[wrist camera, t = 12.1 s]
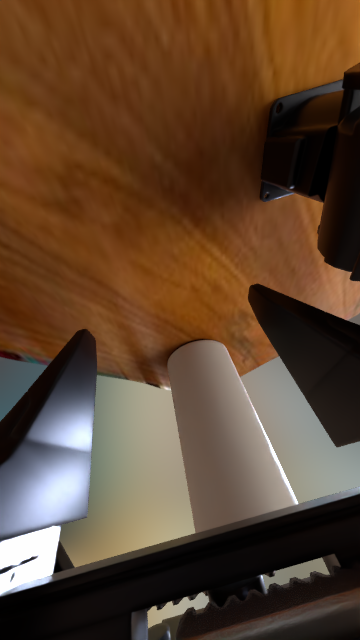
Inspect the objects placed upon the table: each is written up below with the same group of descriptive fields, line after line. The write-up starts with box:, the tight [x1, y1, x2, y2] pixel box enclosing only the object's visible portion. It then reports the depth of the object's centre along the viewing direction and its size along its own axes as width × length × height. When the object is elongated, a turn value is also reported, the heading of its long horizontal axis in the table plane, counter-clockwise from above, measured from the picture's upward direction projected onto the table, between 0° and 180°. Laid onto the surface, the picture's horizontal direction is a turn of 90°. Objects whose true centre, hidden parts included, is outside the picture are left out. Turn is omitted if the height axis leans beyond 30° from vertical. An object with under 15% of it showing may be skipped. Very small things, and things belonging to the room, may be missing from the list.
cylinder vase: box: [167, 340, 298, 533], centre depth 28 cm, size 12×12×25 cm
